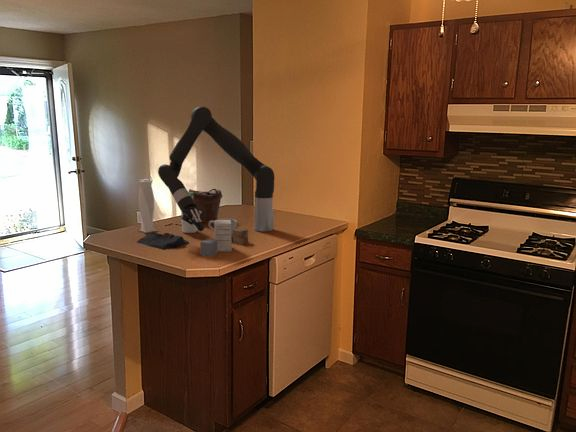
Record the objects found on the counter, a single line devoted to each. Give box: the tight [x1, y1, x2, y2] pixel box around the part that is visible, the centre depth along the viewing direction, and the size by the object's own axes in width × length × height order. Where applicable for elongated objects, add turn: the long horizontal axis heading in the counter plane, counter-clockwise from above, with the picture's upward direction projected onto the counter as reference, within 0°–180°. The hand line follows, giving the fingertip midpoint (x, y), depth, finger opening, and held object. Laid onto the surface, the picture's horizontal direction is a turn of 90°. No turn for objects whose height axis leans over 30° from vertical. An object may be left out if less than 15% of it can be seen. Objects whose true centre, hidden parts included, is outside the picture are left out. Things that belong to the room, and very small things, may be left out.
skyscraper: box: [138, 176, 159, 234], centre depth 248 cm, size 8×8×28 cm
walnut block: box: [232, 227, 249, 245], centre depth 233 cm, size 5×5×6 cm
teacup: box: [207, 218, 238, 238], centre depth 243 cm, size 14×11×8 cm
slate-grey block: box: [199, 239, 218, 258], centre depth 212 cm, size 5×5×6 cm
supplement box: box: [213, 219, 232, 253], centre depth 220 cm, size 7×7×13 cm
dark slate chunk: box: [136, 232, 190, 250], centre depth 229 cm, size 15×22×5 cm
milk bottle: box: [180, 191, 198, 234], centre depth 250 cm, size 8×8×20 cm
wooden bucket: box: [188, 188, 223, 223], centre depth 278 cm, size 18×20×18 cm
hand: (202, 230), depth 228 cm, fingers closed
